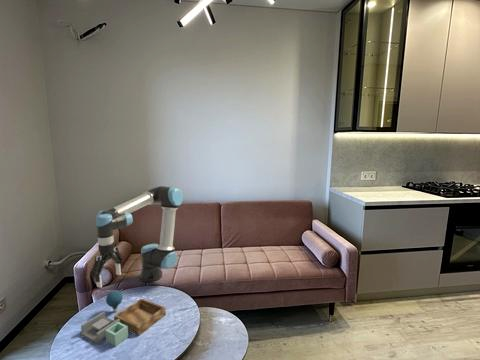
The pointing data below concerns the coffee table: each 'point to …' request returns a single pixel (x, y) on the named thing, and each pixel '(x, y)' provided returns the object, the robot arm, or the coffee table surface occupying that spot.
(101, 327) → the checker plate
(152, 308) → the tray
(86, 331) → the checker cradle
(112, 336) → the cup
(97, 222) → the robot arm
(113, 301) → the light bulb
